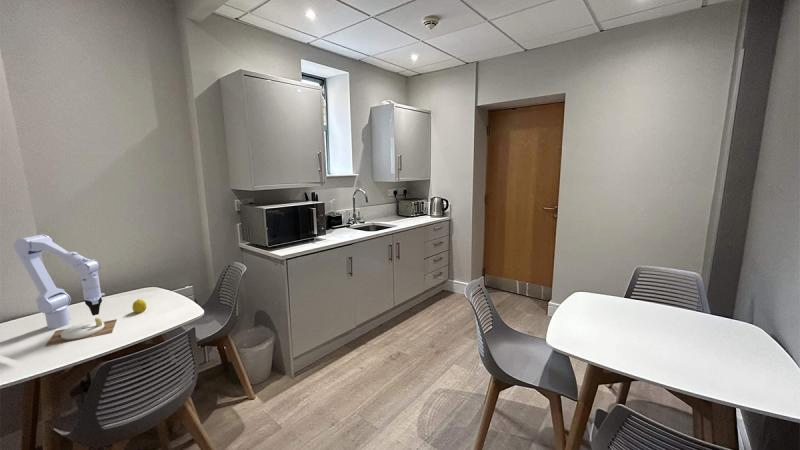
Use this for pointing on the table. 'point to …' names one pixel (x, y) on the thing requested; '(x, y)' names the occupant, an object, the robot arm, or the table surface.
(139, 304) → the lemon
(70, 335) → the dial
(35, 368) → the table surface
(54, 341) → the brown flat wooden board
